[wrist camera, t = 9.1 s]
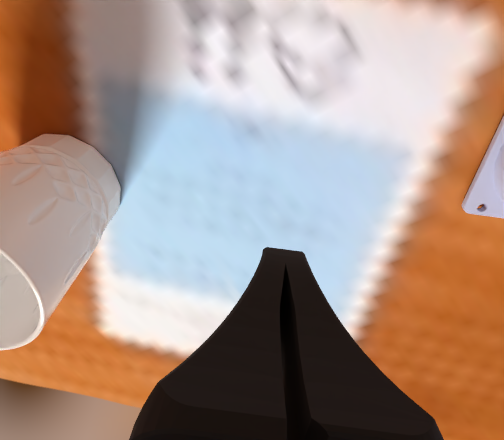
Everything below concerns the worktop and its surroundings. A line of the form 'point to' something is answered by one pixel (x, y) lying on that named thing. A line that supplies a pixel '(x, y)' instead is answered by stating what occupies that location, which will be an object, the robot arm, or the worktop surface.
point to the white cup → (48, 227)
